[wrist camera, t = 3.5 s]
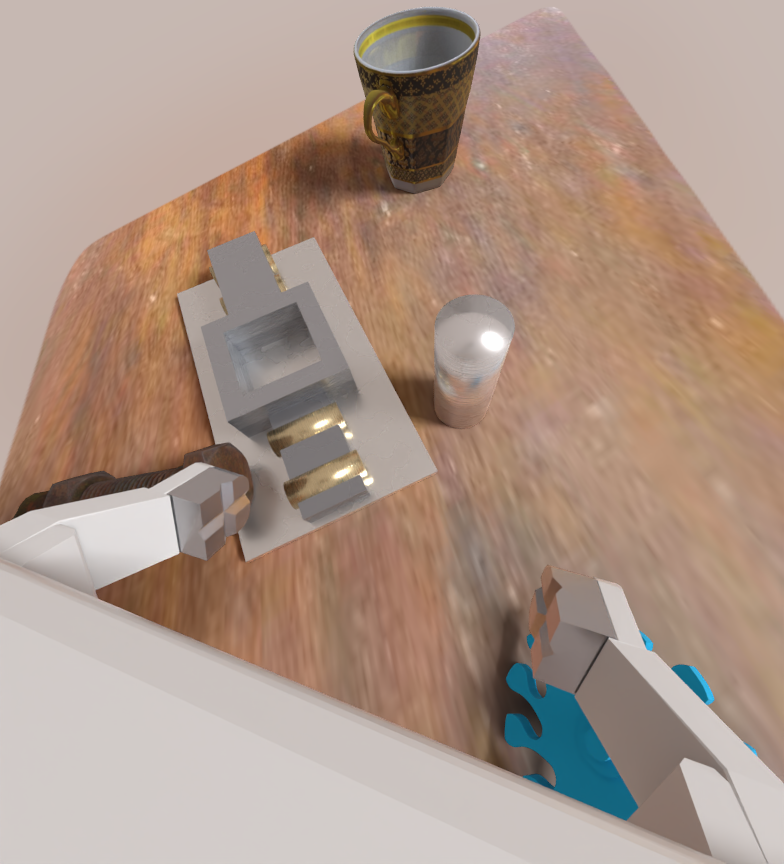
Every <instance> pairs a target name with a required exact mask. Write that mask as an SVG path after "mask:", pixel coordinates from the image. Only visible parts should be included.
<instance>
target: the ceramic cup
mask: <svg viewBox="0 0 784 864" xmlns="http://www.w3.org/2000/svg"><path fill="white" fill-rule="evenodd" d="M479 41H480V28H479V25H478V23H477V22H476V21H475V20H474V19H473V18H472V17H471V16H469V15H468V14H466V13H464V12H461V11H458V10H455V9H450V8H443V7H423V8H415V9H410V10H404V11H401V12H397V13H394V14H391V15H389V16H386V17H384V18H382V19H380V20H378V21H376V22H374V23H373V24H371V25H370V26H369V27H367V28H366V29H365V30H364V31H363V32H362V33H361V34H360V35H359V37H358V39H357V40H356V42H355V45H354V56H355V60H356V64H357V68H358V72H359V76H360V80H361V83H362V87H363V90H364V93H365V97H366V100H365V104H364V128H365V132H366V134H367V136H368V137H369V139H370V140H372V141H373V142H375V143H378V144H380V145H381V148H382V152H383V156H384V160H385V163H386V167H387V170H388V173H389V175H390V178H391V180H392V183H393V185H394V187H395V188H397V189H401V190H404V191H408V192H411V193H419V192H423V191H426V190H430V189H433V188H437V187H440V186H441V184H442V183H443V182H444V181H445V179H446V178H447V177H448V175H449V174H450V173H451V171H452V169H453V167H454V162H455V158H456V153H457V147H458V143H459V138H460V133H461V129H462V124H463V119H464V114H465V108H466V104H467V100H468V97H469V93H470V89H471V84H472V79H473V75H474V70H475V65H476V60H477V54H478V48H479ZM372 115H373V119H374V122H375V126H376V130H377V133H378V137H376V136H375V135H374V133H373V131H372V125H371V123H372Z"/></svg>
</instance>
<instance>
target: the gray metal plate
mask: <svg viewBox="0 0 784 864" xmlns="http://www.w3.org/2000/svg"><path fill="white" fill-rule="evenodd" d="M207 251H208V254H209V257H210V260H211V263H212V266H210V267H209V269H210V272H211V274H212V276H213V278H214V279H212V280H209V281H207V282H205V283H202V284H200V285H197V286H195V287H193V288H190V289H188V290H185V291H183V292H181V293H178V294H177V295H178V299H179V303H180V307H181V311H182V315H183V319H184V323H185V327H186V331H187V334H188V338H189V342H190V346H191V350H192V354H193V358H194V362H195V366H196V370H197V374H198V377H199V381H200V385H201V389H202V393H203V397H204V401H205V405H206V409H207V413H208V416H209V420H210V424H211V428H212V432H213V436H214V440H215V444H222V443H227V442H230V443H231V444H232V445H234V446H235V447H236V448H237V449H238V450H240V451H241V452H242V453H243V455H244V456H245V458H246V459H247V461H248V464H249V468H250V471H251V475H252V480H253V485H254V497H253V500H252V504H251V506H250V514H249V518H248V520H247V521H246V523H245V525H244V527H243V528H242V529H241V530H240V531H239V532H238V534H239V538H240V542H241V545H242V549H243V553H244V557H245V561H246V562H252V561H254V560H256V559H258V558H260V557H262V556H264V555H266V554H269V553H271V552H273V551H275V550H277V549H279V548H281V547H283V546H285V545H288V544H290V543H292V542H294V541H296V540H298V539H300V538H302V537H304V536H306V535H309V534H311V533H313V532H315V531H317V530H319V529H321V528H323V527H325V526H328V525H330V524H332V523H334V522H336V521H338V520H340V519H342V518H344V517H347V516H349V515H351V514H353V513H355V512H357V511H359V510H361V509H363V508H366V507H368V506H370V505H372V504H374V503H376V502H378V501H380V500H382V499H384V498H387V497H389V496H391V495H393V494H395V493H397V492H399V491H401V490H403V489H406V488H408V487H410V486H412V485H414V484H416V483H418V482H420V481H422V480H425V479H427V478H429V477H431V476H433V475H435V474H437V473H438V471H437V469H436V467H435V465H434V463H433V461H432V459H431V458H430V456H429V454H428V452H427V450H426V448H425V446H424V444H423V442H422V441H421V439H420V437H419V435H418V433H417V431H416V429H415V427H414V425H413V423H412V422H411V420H410V418H409V416H408V414H407V412H406V410H405V408H404V406H403V405H402V403H401V401H400V399H399V397H398V395H397V393H396V391H395V389H394V388H393V386H392V384H391V382H390V380H389V378H388V376H387V374H386V372H385V370H384V369H383V367H382V365H381V363H380V361H379V359H378V357H377V355H376V353H375V352H374V350H373V348H372V346H371V344H370V342H369V340H368V338H367V336H366V335H365V333H364V331H363V329H362V327H361V325H360V323H359V321H358V319H357V317H356V316H355V314H354V312H353V310H352V308H351V306H350V304H349V302H348V300H347V299H346V297H345V295H344V293H343V291H342V289H341V287H340V285H339V283H338V282H337V280H336V278H335V276H334V274H333V272H332V270H331V268H330V266H329V265H328V263H327V261H326V259H325V257H324V255H323V253H322V251H321V249H320V247H319V246H318V244H317V242H316V240H315V238H314V237H313V238H311V239H308V240H306V241H304V242H301V243H299V244H296V245H294V246H292V247H289V248H287V249H284V250H282V251H279V252H277V253H275V254H272V255H271V253H270V251H269V249H268V247H267V245H266V244H264V245H262V244H261V242H260V241H259V239H258V237H257V235H256V233H255V231H254V232H251V233H249V234H246V235H244V236H241V237H239V238H237V239H234V240H232V241H229V242H227V243H224V244H222V245H219V246H217V247H214V248H212V249H210V250H207Z"/></svg>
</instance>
